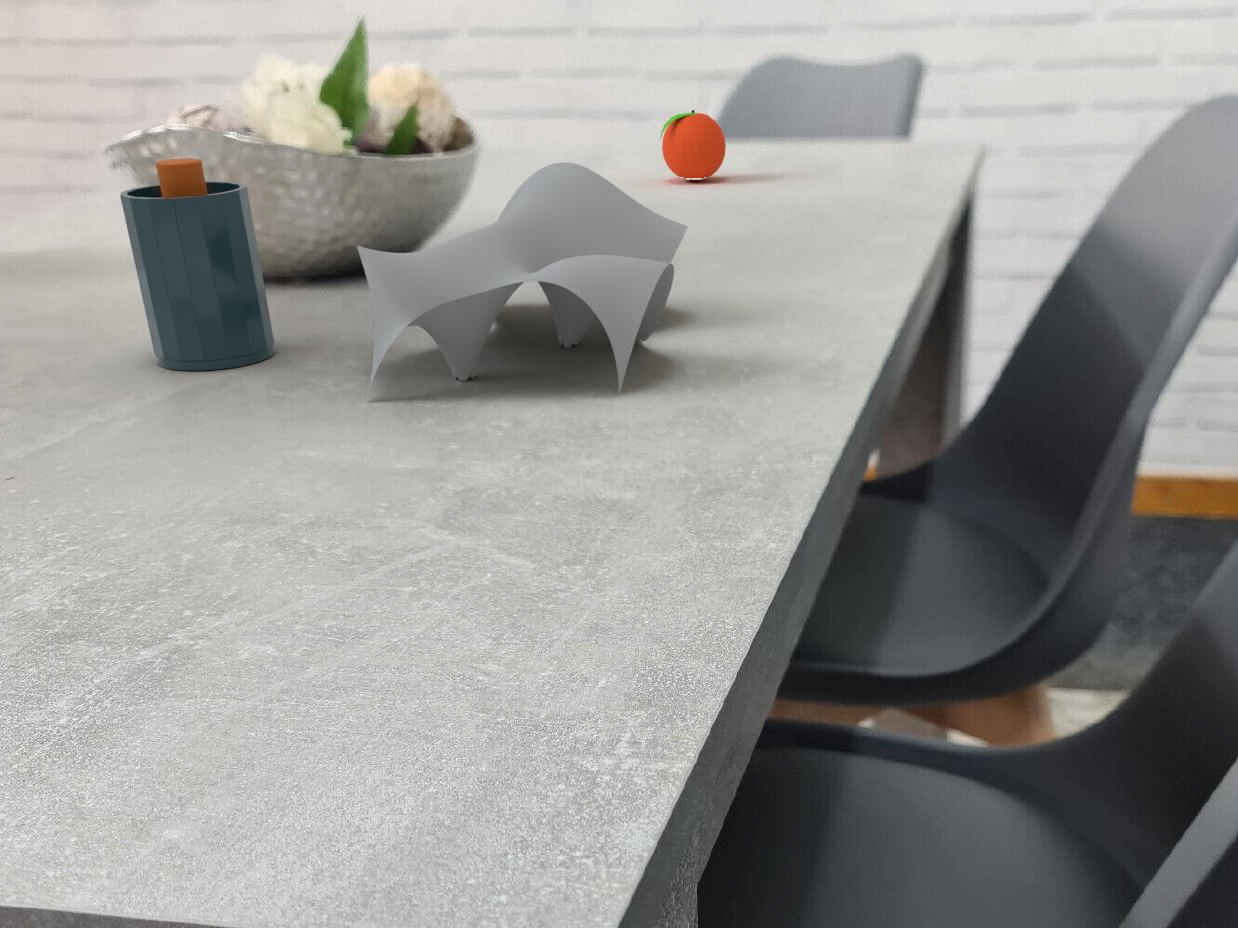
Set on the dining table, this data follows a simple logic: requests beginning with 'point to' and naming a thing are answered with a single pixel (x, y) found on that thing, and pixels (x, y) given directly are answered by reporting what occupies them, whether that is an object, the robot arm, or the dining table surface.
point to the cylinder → (181, 177)
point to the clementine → (693, 145)
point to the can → (200, 276)
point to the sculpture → (533, 270)
